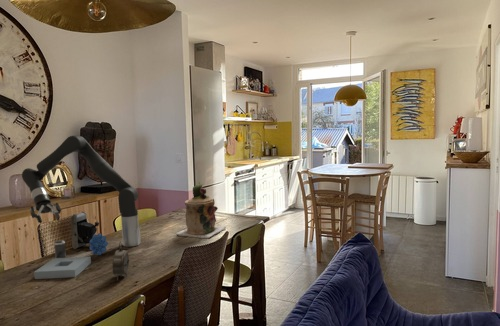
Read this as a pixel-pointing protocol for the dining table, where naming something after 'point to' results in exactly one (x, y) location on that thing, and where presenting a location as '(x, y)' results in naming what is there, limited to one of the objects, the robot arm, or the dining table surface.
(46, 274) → the holder
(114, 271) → the alarm clock
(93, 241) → the grapes
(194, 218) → the cookie jar
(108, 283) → the dining table surface
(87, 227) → the vintage camera
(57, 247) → the metal cylinder
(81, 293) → the dining table surface
